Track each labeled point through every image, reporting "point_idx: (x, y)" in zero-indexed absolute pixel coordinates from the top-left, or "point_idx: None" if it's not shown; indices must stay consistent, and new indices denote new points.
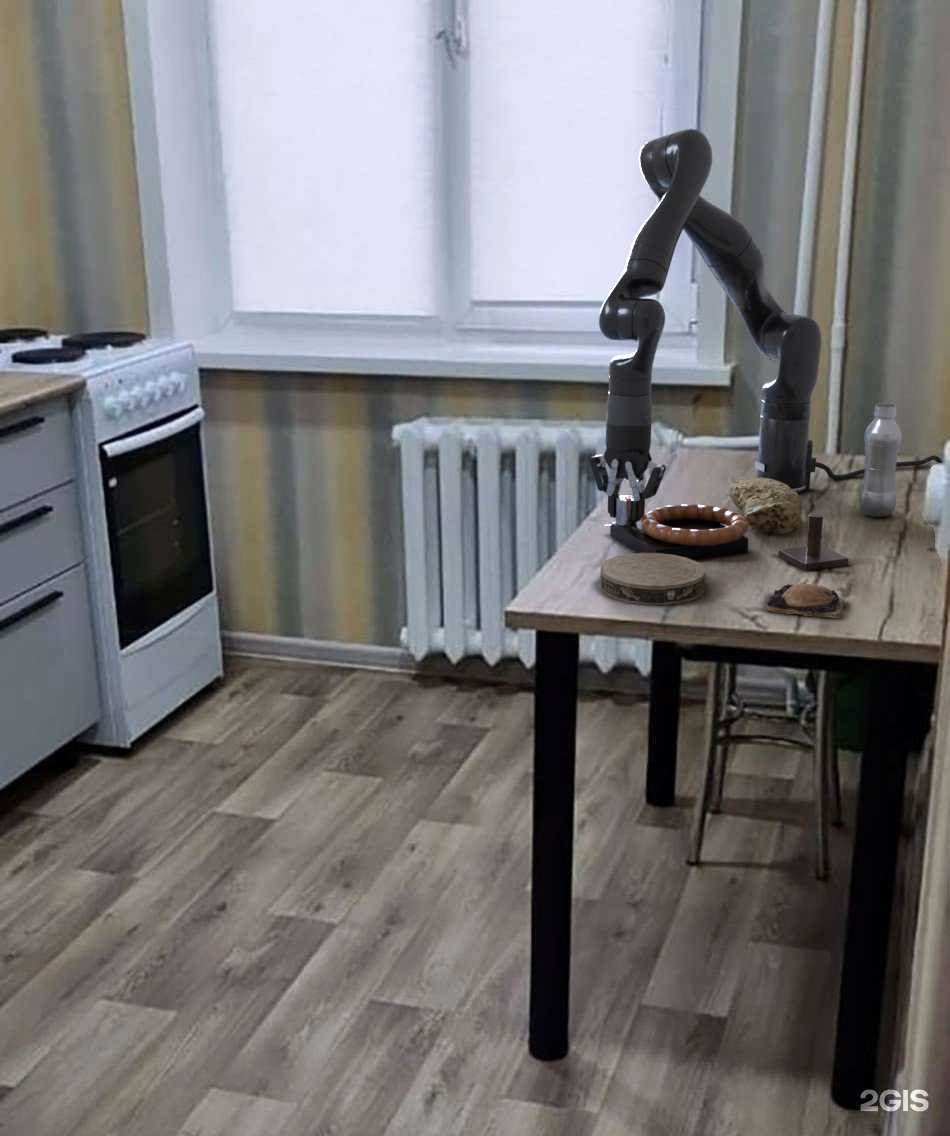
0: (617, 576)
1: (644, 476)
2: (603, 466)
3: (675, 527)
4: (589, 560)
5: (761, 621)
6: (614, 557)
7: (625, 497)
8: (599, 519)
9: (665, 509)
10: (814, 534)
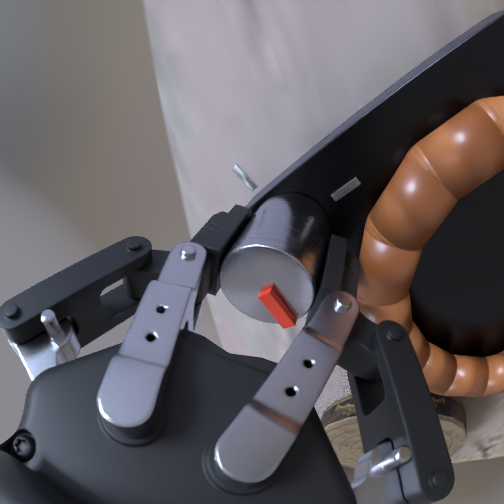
0: (344, 461)
1: (328, 378)
2: (78, 345)
3: (467, 234)
4: (273, 357)
5: (491, 450)
6: (328, 430)
7: (261, 299)
8: (160, 52)
9: (443, 212)
10: None
